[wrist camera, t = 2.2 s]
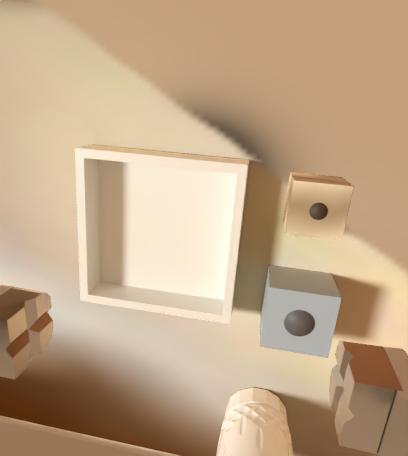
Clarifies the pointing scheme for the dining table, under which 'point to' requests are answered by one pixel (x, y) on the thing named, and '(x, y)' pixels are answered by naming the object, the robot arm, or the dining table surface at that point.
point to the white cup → (255, 426)
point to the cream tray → (159, 230)
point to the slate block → (299, 311)
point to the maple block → (317, 206)
